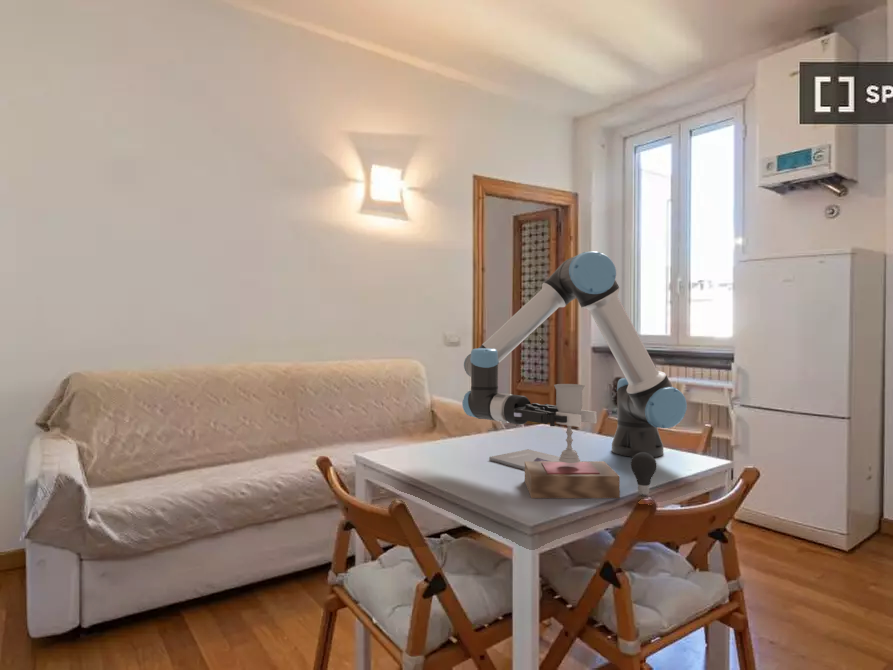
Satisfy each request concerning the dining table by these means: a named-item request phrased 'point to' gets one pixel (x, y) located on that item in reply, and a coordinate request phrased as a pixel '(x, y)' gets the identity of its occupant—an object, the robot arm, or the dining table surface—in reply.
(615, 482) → the display stand
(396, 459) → the dining table surface
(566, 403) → the chalice
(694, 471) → the dining table surface
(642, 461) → the light bulb
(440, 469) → the dining table surface
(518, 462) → the play button award
